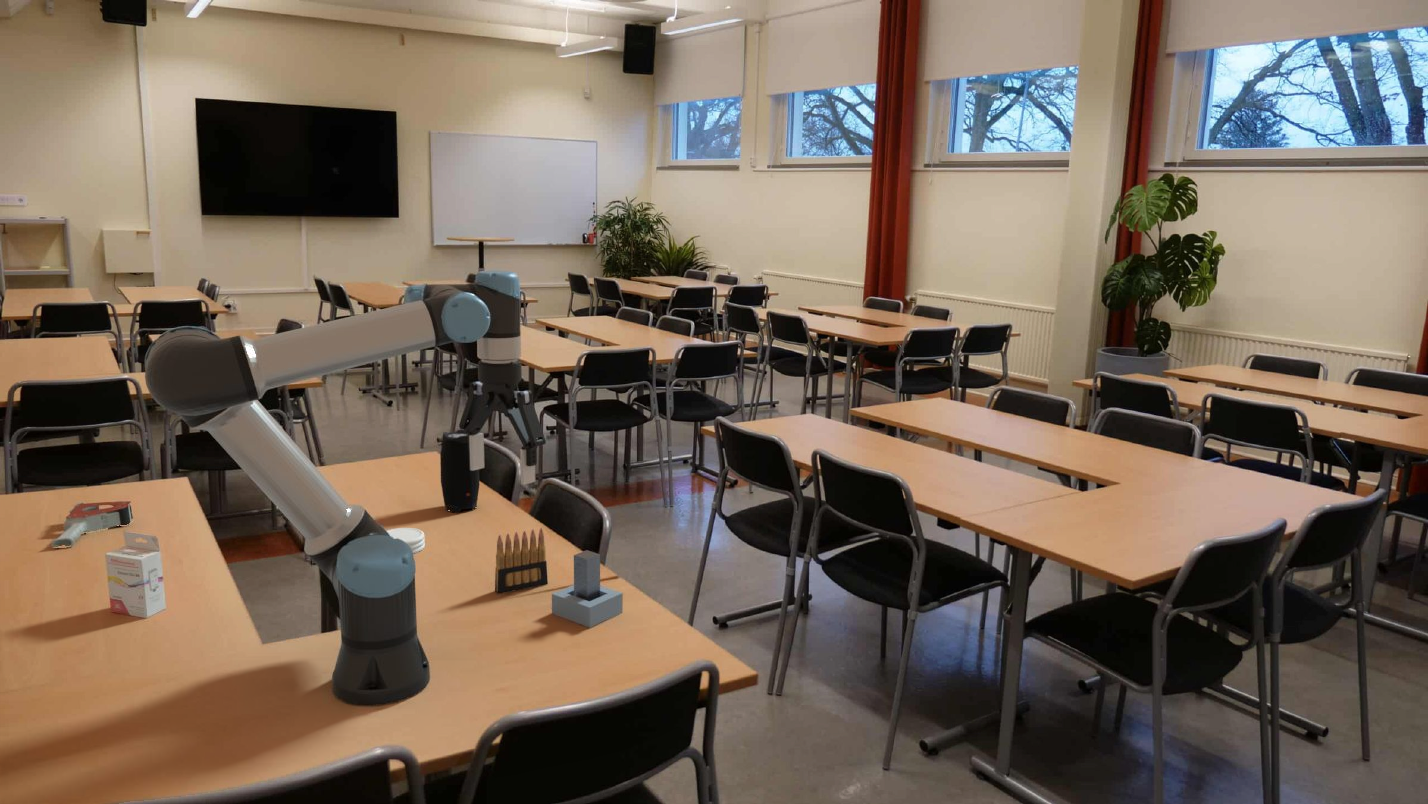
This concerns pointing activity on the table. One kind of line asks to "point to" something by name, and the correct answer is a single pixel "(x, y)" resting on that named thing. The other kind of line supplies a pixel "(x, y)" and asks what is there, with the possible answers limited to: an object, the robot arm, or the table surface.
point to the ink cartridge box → (136, 577)
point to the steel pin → (587, 575)
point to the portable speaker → (458, 472)
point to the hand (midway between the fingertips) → (502, 475)
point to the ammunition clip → (520, 563)
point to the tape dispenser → (93, 520)
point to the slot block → (587, 606)
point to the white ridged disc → (409, 537)
